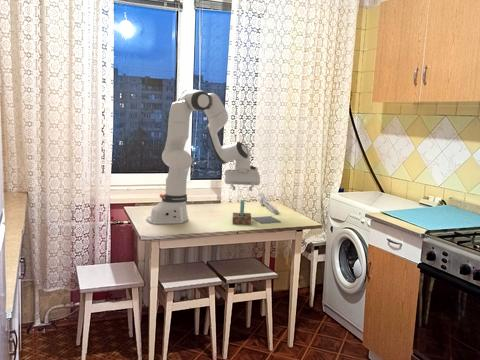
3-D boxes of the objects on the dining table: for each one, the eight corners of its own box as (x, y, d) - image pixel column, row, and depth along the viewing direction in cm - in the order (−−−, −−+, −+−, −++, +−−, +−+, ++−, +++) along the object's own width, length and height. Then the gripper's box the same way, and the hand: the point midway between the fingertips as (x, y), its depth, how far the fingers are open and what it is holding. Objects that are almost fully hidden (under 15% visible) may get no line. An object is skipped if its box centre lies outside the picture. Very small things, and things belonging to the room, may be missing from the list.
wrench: (275, 219, 275) (257, 203, 302) (277, 219, 276) (260, 202, 303) (276, 206, 273) (258, 191, 300) (279, 206, 274) (261, 191, 301)
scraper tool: (239, 222, 253) (240, 201, 251) (239, 221, 256) (240, 200, 254) (243, 222, 253) (244, 201, 251) (243, 221, 256) (244, 200, 254)
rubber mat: (261, 223, 252) (261, 222, 252) (251, 218, 263) (251, 217, 263) (280, 222, 257) (280, 221, 257) (270, 217, 268) (270, 216, 268)
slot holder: (232, 224, 249) (232, 216, 248) (232, 219, 259) (232, 212, 258) (251, 224, 249) (251, 217, 249) (250, 220, 259) (250, 213, 259)
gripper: (224, 166, 267) (223, 186, 259) (260, 167, 268) (260, 187, 260) (224, 172, 273) (223, 192, 265) (259, 174, 273) (259, 193, 265)
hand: (242, 189), depth 262 cm, fingers open, 8 cm apart
